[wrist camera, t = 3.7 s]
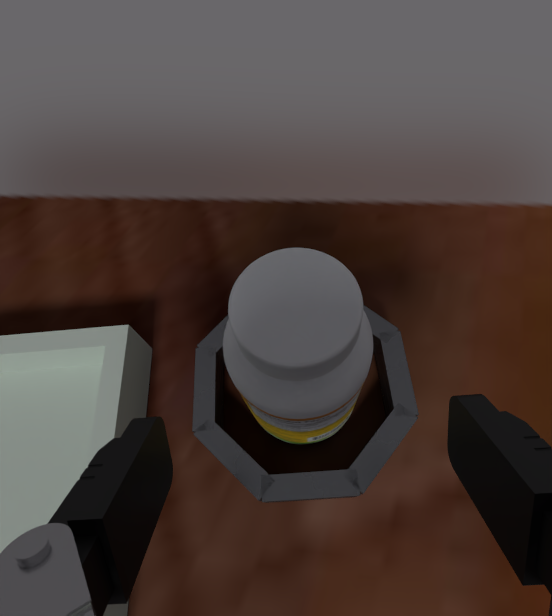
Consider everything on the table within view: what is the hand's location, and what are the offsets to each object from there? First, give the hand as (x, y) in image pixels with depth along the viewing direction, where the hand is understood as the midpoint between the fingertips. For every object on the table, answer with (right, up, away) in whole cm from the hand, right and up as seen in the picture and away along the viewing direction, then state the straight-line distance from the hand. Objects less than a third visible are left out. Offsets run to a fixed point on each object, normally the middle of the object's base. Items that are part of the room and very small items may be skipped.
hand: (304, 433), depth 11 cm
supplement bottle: (0, -1, +9) cm, 9 cm away
